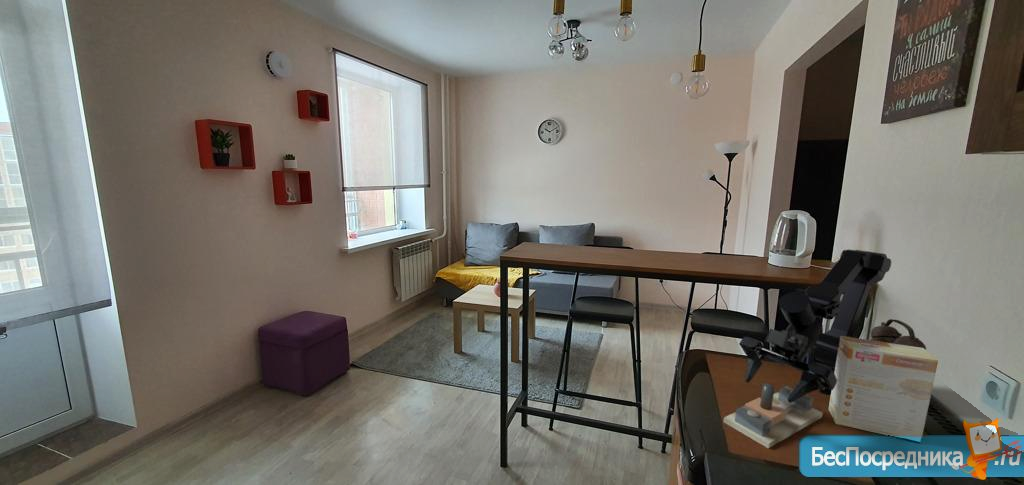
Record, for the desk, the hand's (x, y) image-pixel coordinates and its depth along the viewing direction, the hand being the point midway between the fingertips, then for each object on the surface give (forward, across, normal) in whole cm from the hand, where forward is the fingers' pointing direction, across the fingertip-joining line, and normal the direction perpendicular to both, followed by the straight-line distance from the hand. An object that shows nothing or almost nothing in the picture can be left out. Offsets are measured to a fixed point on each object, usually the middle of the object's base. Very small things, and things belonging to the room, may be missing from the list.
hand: (766, 391), depth 89 cm
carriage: (+4, 0, +5) cm, 6 cm away
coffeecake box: (-10, +12, +22) cm, 27 cm away
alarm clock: (-26, +8, +38) cm, 46 cm away
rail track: (+3, 0, +9) cm, 10 cm away
